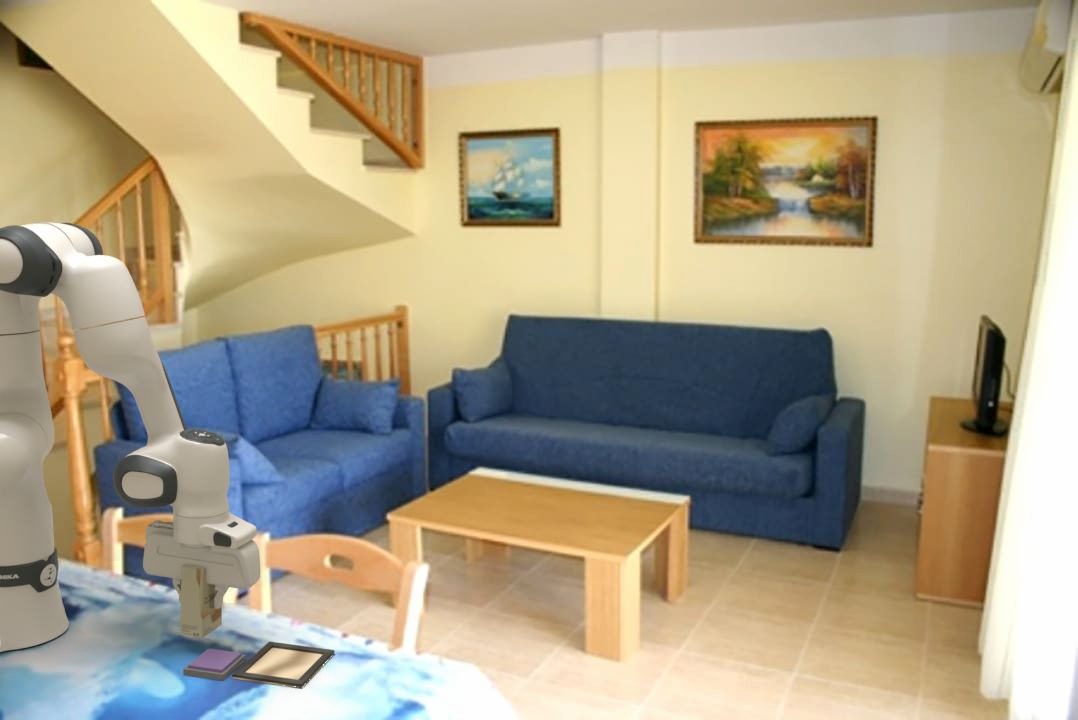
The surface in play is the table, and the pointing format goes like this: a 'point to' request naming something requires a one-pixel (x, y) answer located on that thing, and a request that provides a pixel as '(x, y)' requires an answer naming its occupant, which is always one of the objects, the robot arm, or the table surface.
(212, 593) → the skincare box
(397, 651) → the table surface
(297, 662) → the framed board
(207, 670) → the pad
